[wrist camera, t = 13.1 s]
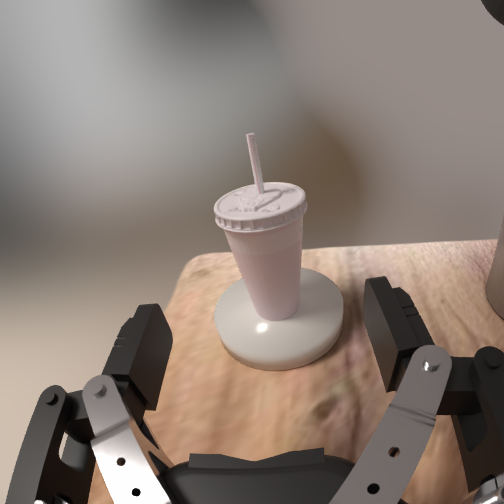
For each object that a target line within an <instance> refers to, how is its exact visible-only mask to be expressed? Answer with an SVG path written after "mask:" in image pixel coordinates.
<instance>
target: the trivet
mask: <svg viewBox="0 0 504 504" xmlns="http://www.w3.org/2000/svg"><path fill="white" fill-rule="evenodd" d="M214 320H215V325H216V328H217V331H218V334H219V336H220V339H221V342H222V345H223V346H224V348H225V350H226V351H227V352H228V353H229V355H231V356H232V357H233V358H234V359H235V360H237V361H238V362H240V363H242V364H244V365H246V366H249V367H252V368H255V369H260V370H267V371H282V370H289V369H294V368H298V367H302V366H304V365H307V364H309V363H311V362H313V361H315V360H317V359H319V358H320V357H321V356H323V355H324V354H326V353H327V352H328V351H329V350H330V349H331V348H332V347H333V345H334V344H335V343H336V341H337V340H338V338H339V336H340V333H341V331H342V326H343V298H342V294H341V292H340V290H339V288H338V287H337V285H336V284H335V283H334V282H333V281H332V280H330V279H329V278H328V277H326V276H324V275H323V274H321V273H318V272H316V271H313V270H310V269H306V268H301V279H300V299H299V308H298V310H297V311H296V313H295V314H294V315H292V316H291V317H289V318H287V319H284V320H280V321H269V320H265V319H263V318H261V317H260V316H259V315H258V314H257V312H256V310H255V308H254V305H253V303H252V300H251V298H250V295H249V293H248V290H247V288H246V285H245V283H244V280H243V278H241V279H240V280H238V281H237V282H235V283H234V284H232V285H231V286H230V287H229V288H228V289H227V290H226V291H225V292H224V293H223V294H222V295H221V297H220V299H219V300H218V302H217V304H216V307H215V311H214Z"/></svg>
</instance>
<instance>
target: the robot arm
mask: <svg viewBox="0 0 504 504" xmlns="http://www.w3.org/2000/svg"><path fill="white" fill-rule="evenodd" d="M481 1H482V3H483V5H484V6H485V8H486V9H487V11H488V12H489V13H490V14H491V15H492V16H493V18H495V19H496V20H497V21H498V22H500V23H501V24H503V25H504V0H481ZM486 295H487V299H488V301H489V303H490V305H491V306H492V308H493V309H494V310H495V311H496V313H498V314H499V315H500V316H501V317H502V318H503V319H504V216H503V221H502V226H501V231H500V236H499V240H498V244H497V248H496V251H495V255H494V259H493V263H492V267H491V270H490V274H489V277H488V281H487V284H486ZM363 316H364V322H365V326H366V329H367V332H368V335H369V338H370V341H371V344H372V347H373V350H374V353H375V356H376V360H377V363H378V366H379V369H380V372H381V376H382V379H383V382H384V386H385V389H386V393H387V392H391V391H396V394H395V396H394V398H393V400H392V402H391V404H390V405H389V406H388V408H387V410H386V412H385V414H384V416H383V418H382V419H381V421H380V423H379V425H378V427H377V429H376V431H375V432H374V434H373V436H372V438H371V439H370V441H369V443H368V445H367V446H366V448H365V450H364V451H363V453H362V455H361V456H360V458H359V460H358V461H357V463H356V464H355V463H353V462H351V461H349V460H347V459H343V458H340V457H336V456H330V455H324V448H317V449H309V450H301V451H291V452H287V453H284V454H280V455H277V456H274V457H270V458H267V459H263V460H259V461H248V460H244V459H239V458H234V457H230V456H226V455H222V454H192V453H190V457H189V461H187V462H183V463H180V464H177V465H175V466H174V464H173V463H172V462H171V461H170V460H169V458H168V457H167V456H166V454H165V453H164V451H163V450H162V448H161V446H160V445H159V443H158V441H157V439H156V438H155V436H154V434H153V432H152V430H151V429H150V427H149V425H148V423H147V421H146V419H145V418H144V417H143V416H144V412H145V410H152V411H156V407H157V403H158V398H159V394H160V390H161V386H162V382H163V378H164V374H165V371H166V367H167V363H168V359H169V355H170V352H171V348H172V343H173V337H172V332H171V329H170V327H169V325H168V323H167V321H166V318H165V316H164V314H163V312H162V310H161V308H160V306H159V305H158V304H146V305H139V306H138V308H137V310H136V313H135V315H134V317H133V318H129V319H128V321H127V322H126V323H125V324H124V325H123V326H122V327H121V330H120V332H119V334H118V336H117V337H118V338H117V339H116V341H115V343H114V347H113V348H112V350H111V353H110V356H109V357H108V360H107V362H106V365H105V367H104V369H103V372H102V374H101V375H99V376H96V377H93V378H92V379H91V380H89V381H88V382H87V384H86V385H85V387H84V388H83V390H80V391H75V392H71V393H67V392H66V391H65V390H64V389H63V388H62V387H61V386H58V385H53V386H50V387H48V388H47V389H45V390H44V391H43V392H42V394H41V395H40V398H39V400H38V402H37V405H36V407H35V410H34V413H33V415H32V418H31V420H30V423H29V426H28V429H27V432H26V434H25V437H24V440H23V443H22V446H21V449H20V452H19V455H18V459H17V462H16V465H15V469H14V472H13V475H12V479H11V483H10V487H9V490H8V494H7V499H6V503H5V504H87V503H88V498H89V492H90V487H91V482H92V477H93V472H94V467H95V462H96V459H97V462H98V465H99V467H100V470H101V472H102V475H103V477H104V479H105V482H106V484H107V486H108V489H109V491H110V493H111V495H112V497H113V500H114V502H115V504H407V503H406V502H405V501H403V500H402V499H401V496H402V494H403V492H404V490H405V489H406V487H407V485H408V483H409V481H410V479H411V477H412V475H413V473H414V471H415V469H416V467H417V465H418V463H419V461H420V458H421V456H422V454H423V452H424V450H425V447H426V445H427V443H428V440H429V438H430V435H431V433H432V430H433V428H434V425H435V421H436V419H435V416H436V415H451V418H452V422H453V426H454V429H455V433H456V437H457V441H458V444H459V449H460V453H461V457H462V461H463V466H464V470H465V475H466V480H467V485H468V491H469V494H467V495H466V496H465V497H464V498H463V500H462V501H461V503H460V504H504V353H503V352H502V351H501V350H499V349H498V348H495V347H491V346H487V347H483V348H481V349H479V350H478V351H477V353H476V354H475V356H474V357H452V356H450V355H449V354H448V352H447V351H446V350H444V349H443V348H441V347H439V346H435V344H434V342H433V340H432V338H431V336H430V334H429V332H428V330H427V328H426V326H425V324H424V322H423V320H422V318H421V316H420V315H419V312H418V310H417V309H416V307H415V306H414V303H413V301H412V299H411V297H410V296H409V294H407V293H406V292H405V291H404V290H402V289H401V288H400V287H398V288H392V287H391V285H390V283H389V281H388V279H387V278H386V277H385V276H382V277H376V278H369V279H366V281H365V291H364V305H363ZM64 432H65V433H66V434H68V437H67V440H66V444H65V448H64V451H63V455H62V458H61V459H60V457H59V448H60V444H61V441H62V438H63V434H64Z"/></svg>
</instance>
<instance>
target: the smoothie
mask: <svg viewBox="0 0 504 504" xmlns="http://www.w3.org/2000/svg"><path fill="white" fill-rule="evenodd" d="M246 137H247V142H248V148H249V153H250V158H251V164H252V169H253V175H254V180H255V184H253V185H249V186H245V187H242V188H239V189H236V190H233V191H231V192H229V193H227V194H226V195H224V196H223V197H221V198H220V199H219V200H218V201H217V202H216V204H215V205H214V212H215V216H216V223H217V224H218V226H219V227H221V228H223V229H224V231H225V234H226V237H227V240H228V242H229V245H230V247H231V249H232V252H233V255H234V257H235V260H236V262H237V265H238V267H239V270H240V272H241V275H242V277H243V280H244V283H245V285H246V288H247V290H248V293H249V295H250V298H251V300H252V303H253V305H254V308H255V310H256V312H257V314H258V315H259V316H260V317H261V318H263V319H265V320H269V321H280V320H284V319H287V318H289V317H291V316H292V315H294V314H295V313H296V311H297V310H298V308H299V299H300V279H301V256H302V231H303V214H304V213H305V212H306V210H307V203H306V198H305V192H304V190H303V189H301V188H300V187H298V186H296V185H293V184H289V183H282V182H269V183H263V179H262V173H261V167H260V161H259V156H258V151H257V144H256V139H255V134H254V133H250V134H247V135H246Z"/></svg>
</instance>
